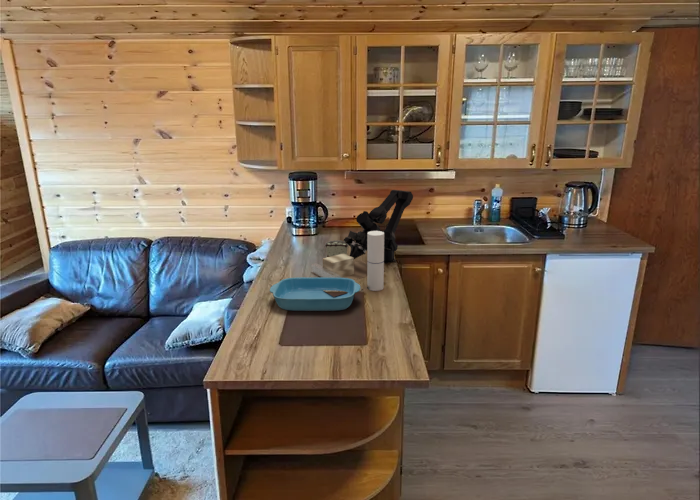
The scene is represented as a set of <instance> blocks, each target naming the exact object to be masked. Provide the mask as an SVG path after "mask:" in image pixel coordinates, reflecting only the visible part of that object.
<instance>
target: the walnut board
mask: <svg viewBox="0 0 700 500" xmlns="http://www.w3.org/2000/svg"><path fill="white" fill-rule="evenodd" d="M385 272H386V271H385V270H384V273H385ZM311 274H312V275H315V276H316V277H320V276H318V275H316V274H314V273H312V271H311ZM341 278H350V279H353V280H354V281H356V280H359V279H363V278H367V262H365V261H363V260H361V259H360V260H354V274H352V275H349V276H345V277H341Z"/></svg>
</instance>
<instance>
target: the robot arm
mask: <svg viewBox="0 0 700 500" xmlns="http://www.w3.org/2000/svg"><path fill="white" fill-rule="evenodd" d="M413 198H414V194H413V193H412V191H409V190H401V189H399V190H398V189H391V190H390V192H389V194H388V195H387V196H386V197H385V199H384V200H383V201H382V203H380V205H379V206H377V207H374V208H372V209H371V210H370V211H366V210H363V212H361V213H359V214H358V215H357V216H356V218H355V221H356V222H357V223H358V225H359V226H360V227H361V228H362V231H358V232H355V231H352V230H349V232H348V235H347V236H345V238H344V239H343V241H345V242H346V243H347V244H348V246H349V248H350V251H349V256H351V257H353V258H354V260H355V259H357V258H359V257H362V256H364V255H366V252H367V233H368V232H370V231H382V232H384V264H389V263H394V262H397V259H396V258H395V252H396V251H397V250H398V244H397V243H396V235H395V233H396V230H397V228H398V226H399V223H400V222H401V221H400V220H401V218H402V216H403V213H404V211H405V209H407V207H409V206H410V204H411V203H412V201H413ZM394 205H395V206H394ZM393 206H394V208H393ZM392 208H393V211H392V212H391V215H390V218H389V221H388V223H387V224H386V227H385V229H384V230H381V226H380V225H381V224H383V223H384V222H385V221H386V219H387V216H388V213H389V211H390V209H392ZM378 224H379V225H378Z"/></svg>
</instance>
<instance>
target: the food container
mask: <svg viewBox="0 0 700 500" xmlns="http://www.w3.org/2000/svg"><path fill="white" fill-rule="evenodd" d="M324 248H325V252H326V258H327V257H331V256H335V255H339V254H346V255H348V249H349V248H350V246H349V245H348V244H347V243H346V242H345V241H344V240H338V239H337V240H329V241H326V242H325V243H324Z"/></svg>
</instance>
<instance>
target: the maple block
mask: <svg viewBox="0 0 700 500" xmlns="http://www.w3.org/2000/svg"><path fill="white" fill-rule="evenodd" d="M354 261H355V259H354V258H353V257H351V256H350V254H349V255H348V254H347V255H346V254H339V255H335V256H331V257H327V256H326V257H324V258H322V266H323V267H324V268H326V269H328V270H330V271H332V272H334V273H336V274H338V275H340V278H341V277H345V276H349V275H352V274H354Z"/></svg>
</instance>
